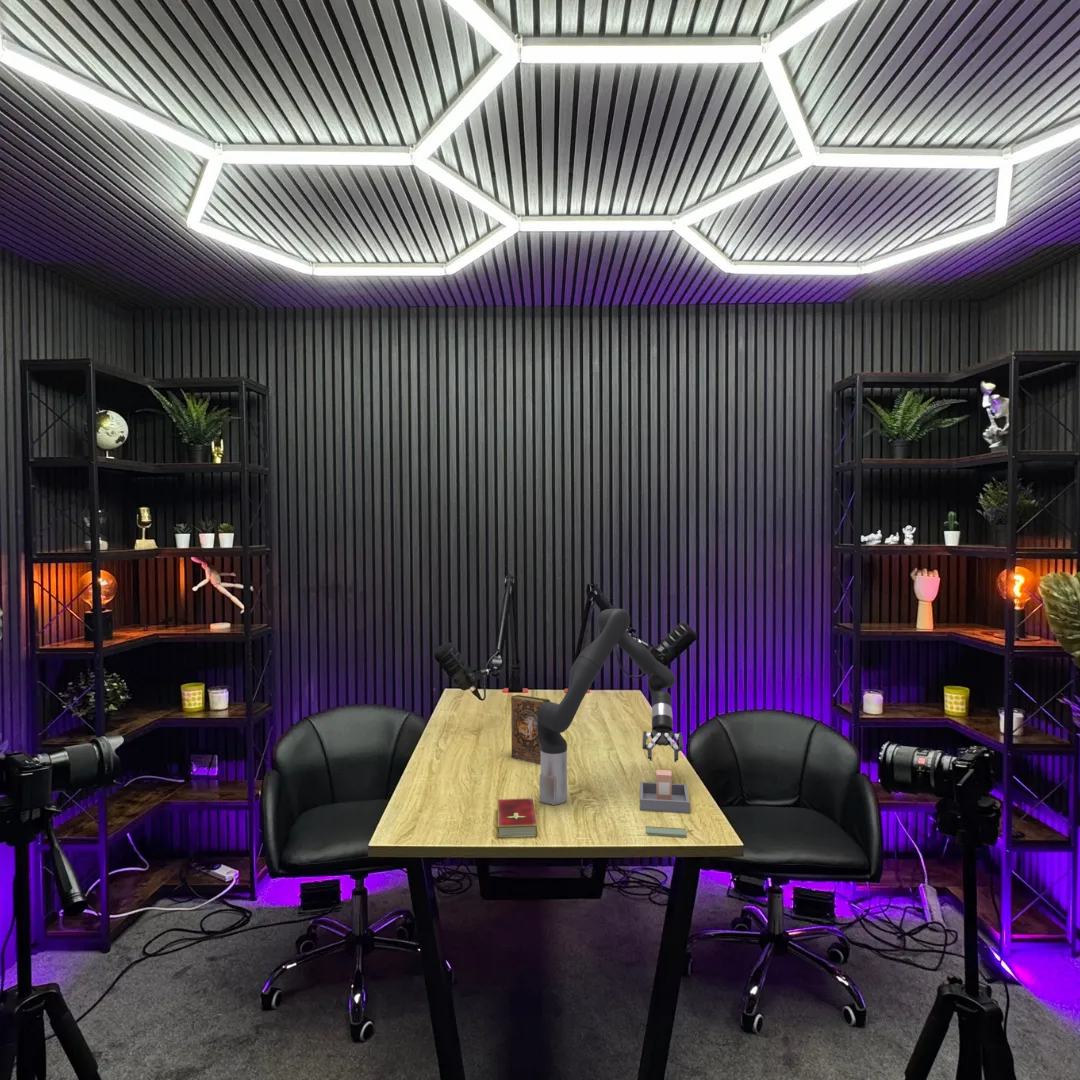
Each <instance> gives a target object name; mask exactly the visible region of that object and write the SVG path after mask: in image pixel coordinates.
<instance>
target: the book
mask: <svg viewBox="0 0 1080 1080" xmlns="http://www.w3.org/2000/svg"><path fill="white" fill-rule="evenodd" d="M510 698H511V701H510V702H511V708H510V709H511V712H510V713H511V716H510V717H511V718H510V720H511V723H510V724H511V725H510V726H511V733H510V734H511V736H510V737H511V759H512V758H513V759H514V760H517V759H519V760H518V761H522V760H524V761H523V762H527V761H528V762H529V763H531V764H532V763H533V764H538V765H541V747H540V743H539V740H538V726H537V716H538V711H539V709H540V707H541V705H542V704H544V703H546V702H551V700H550V699H549V698H542V697H536V696H535V697H534V696H529V695H522V694H521V695H520V694H517V695H512V696H511V697H510ZM513 759H512V760H513Z"/></svg>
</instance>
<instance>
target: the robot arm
mask: <svg viewBox="0 0 1080 1080" xmlns="http://www.w3.org/2000/svg"><path fill="white" fill-rule="evenodd" d="M597 624H598V627H599V629H600V630H601V632H600V634H599V635H598V637H596V638H595V639H594V640H593V641H592V642H590V643H589V645H587V646H586V647H585V648H584V649H583V650H581V652H580V653H579V654H578V656H577V658H576V660H574V662H573V664H572V666H571V668H570V671H569V679H568V687H567V691H566V693H565V695H564V697H563V698H562V700H561V701H560V703H556V702H552V701H550V702H546V703H544V704H542V705H541V707H540V709H539V711H538V716H537V726H538V740H539V743H540V747H541V764H540V773H539V802H541V803H544V804H549V805H553V806H556V805H560V804H563V803H567V801H568V743H567V740H566V739H565V738H564V737H563V736H562V734H561V733H565V732H566V731H567V730H568V729H569V728H570V726H571V724H572V722H573V721H574V719H575V716H576V714H577V712H578V710H579V707H580V706H581V703H582V701H583V699H584V698H585V696H586V695H587V693H588V691H589V689H590V687H591V686H592V684H593V683H594V681H595V680H596V678H597V676H598V675H599V673H600V672H601V669H602V668H603V666H604V664H605V662H606V661H607V660H608V657H609V656H610V654H611V653H612V651H613V649H614V648H615V646H616V645H617V646H619V647H620V648H621V649H622V650H623V651H624V652H625V653H626V654H627V655H628V657H630V659H631V660H632V661H633V662H634V664H635V665H636V666H637V667H638V669H640V670H641V672H642V673H643V674H644V675H645V674H646V675H649V676H648V678H647V681H646V682H647V686H648V689H649V692H650V696H651V705H652V706H651V707H652V708H651V732H647V731H646V730H644V731H643V732H642V733H643V734H642V749H643V750H646V751H647V759H648V760H649V762H652V760H653V758H652V757H653V756H652V753H653V752H652V750H653V749H654V748H656V746H657V745H658V746H665V747H666V746H669V747H670V748H671V749H672V750H673V759H674V760H673V761H674V763H677V762H678V761H679V752H682V751H684V741H683V740H684V739H683V733H682V732H678V733H675V732H674V728H673V727H674V724H673V710H672V695H671V694H670V693H669V692H667V691H664V690H665V689H670V688H672V687H673V686H674V685H675V684H676V677H675V674H674V673H673V671H672V670H671V669H670V668H669V667H668V666H666V665H664V664H663V663H661V662H660V661H659V660H657V658H655V656H654V655H653V654H652V652H651V651H649V649H648V648H647V647H646V646H645V645H644V644H643V643H641V642H640V641H638V640H637V639H635V638H634V636H632V635H630V634H629V633H628V632H627V631H628V629H629V626H630V624H631V617H630V614H629V612H628V611H627V610H626V609H623V608H609V609H608V608H607V609H606V608H605V609H604V610H602V611H600V612H599V614H598V617H597ZM650 737H651V741H650V742H649V743H648V744H647V740H649V739H650ZM674 739H675V740H677V741H678V745H677V744H676V743H675V741H674Z"/></svg>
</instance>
